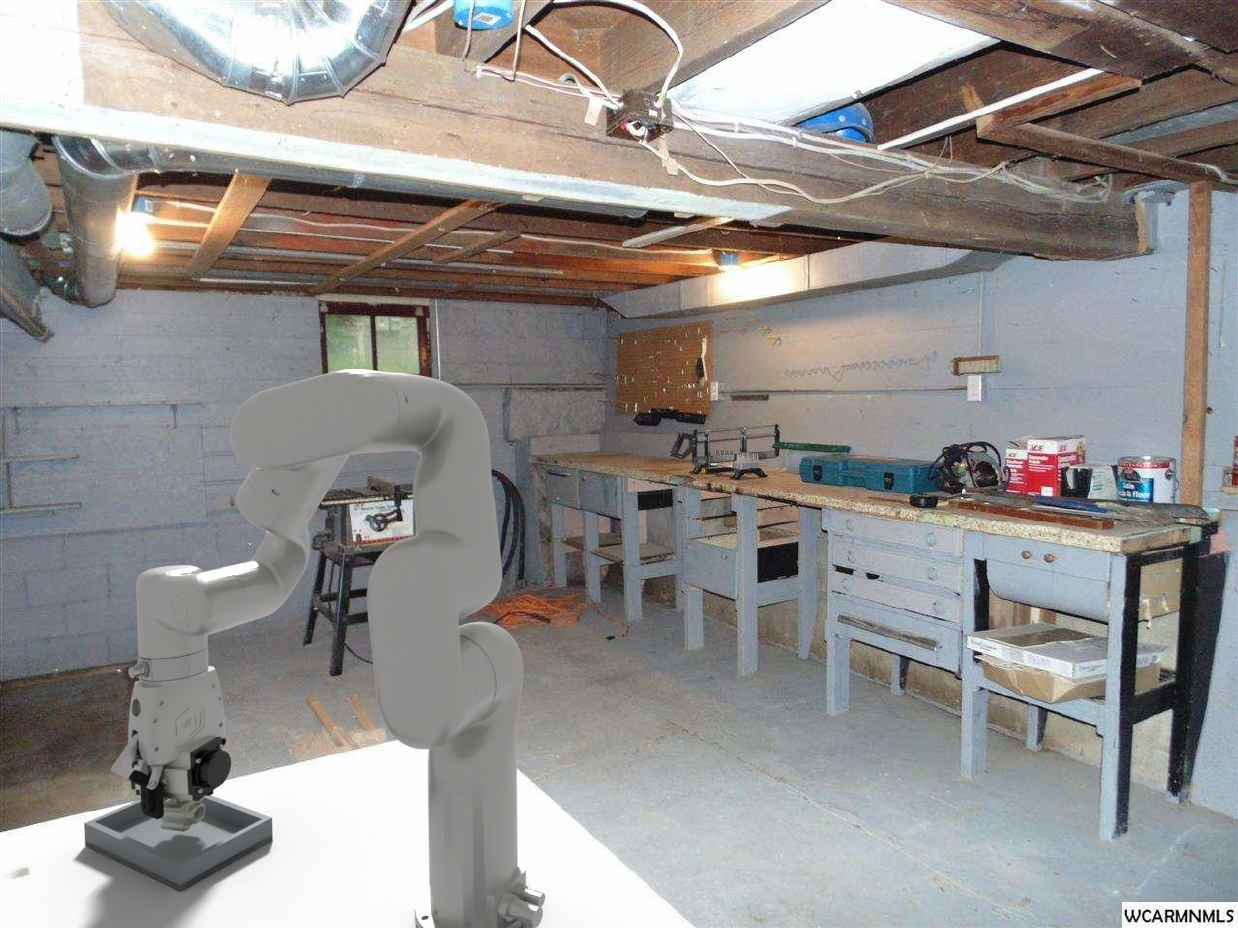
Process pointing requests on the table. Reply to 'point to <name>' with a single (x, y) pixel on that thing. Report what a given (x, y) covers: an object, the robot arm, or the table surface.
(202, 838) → the parts tray
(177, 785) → the pneumatic valve
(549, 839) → the table surface
